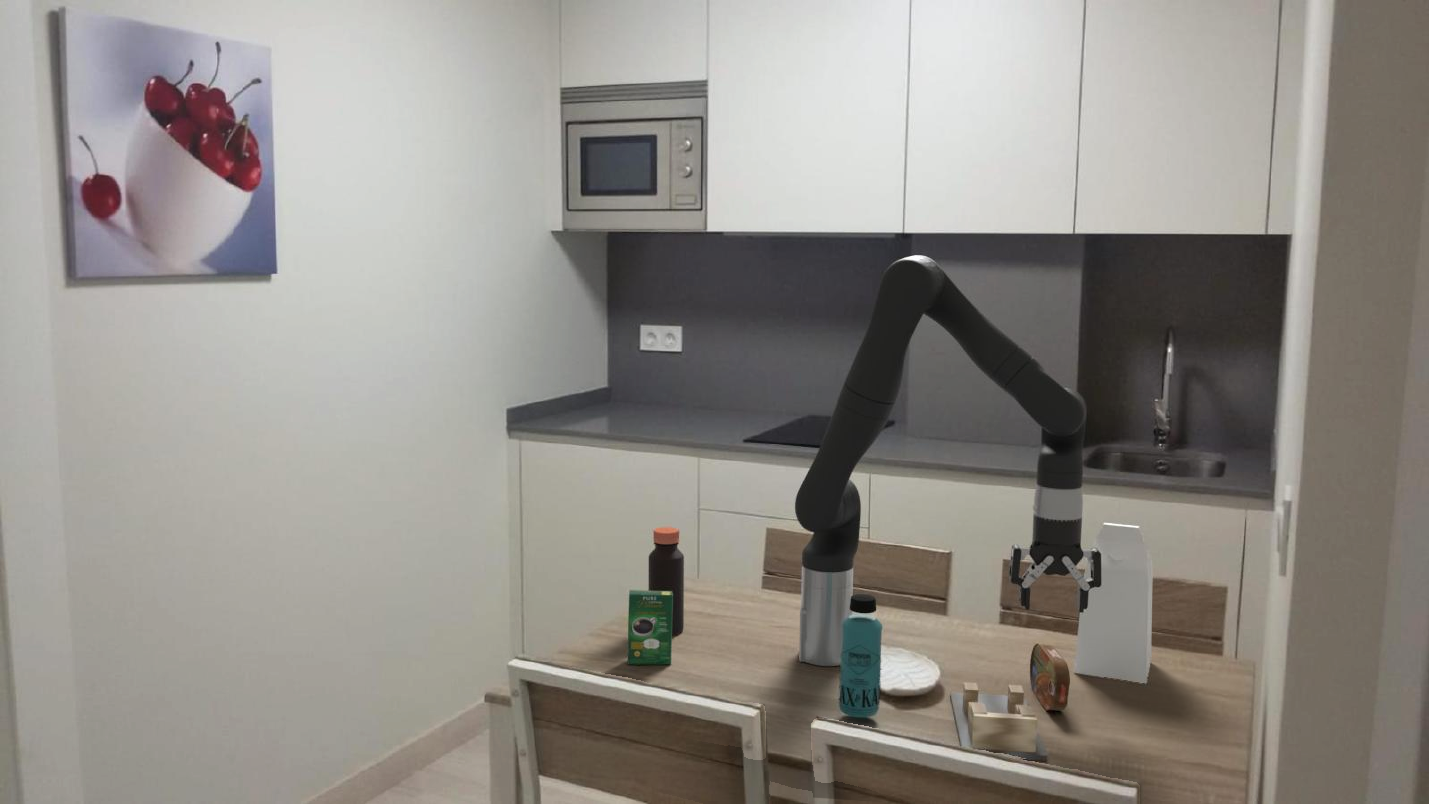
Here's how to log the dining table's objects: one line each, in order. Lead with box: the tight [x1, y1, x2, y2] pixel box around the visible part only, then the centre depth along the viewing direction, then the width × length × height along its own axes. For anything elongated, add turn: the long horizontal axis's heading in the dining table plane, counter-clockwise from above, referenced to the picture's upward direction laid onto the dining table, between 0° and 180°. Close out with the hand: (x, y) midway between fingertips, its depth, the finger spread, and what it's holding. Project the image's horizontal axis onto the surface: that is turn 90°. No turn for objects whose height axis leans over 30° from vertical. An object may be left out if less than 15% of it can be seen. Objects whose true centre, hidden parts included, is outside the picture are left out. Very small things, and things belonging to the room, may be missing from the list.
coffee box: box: [627, 589, 673, 666], centre depth 198 cm, size 8×3×13 cm, turn 92°
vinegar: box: [648, 526, 685, 637], centre depth 215 cm, size 7×7×20 cm
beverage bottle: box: [837, 593, 883, 718], centre depth 175 cm, size 6×7×20 cm
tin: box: [1029, 643, 1071, 712], centre depth 183 cm, size 15×3×8 cm, turn 178°
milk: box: [1073, 522, 1154, 685], centre depth 197 cm, size 12×12×26 cm
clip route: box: [949, 681, 1048, 762], centre depth 173 cm, size 12×22×6 cm, turn 173°
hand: (1053, 609), depth 182 cm, fingers open, 8 cm apart
